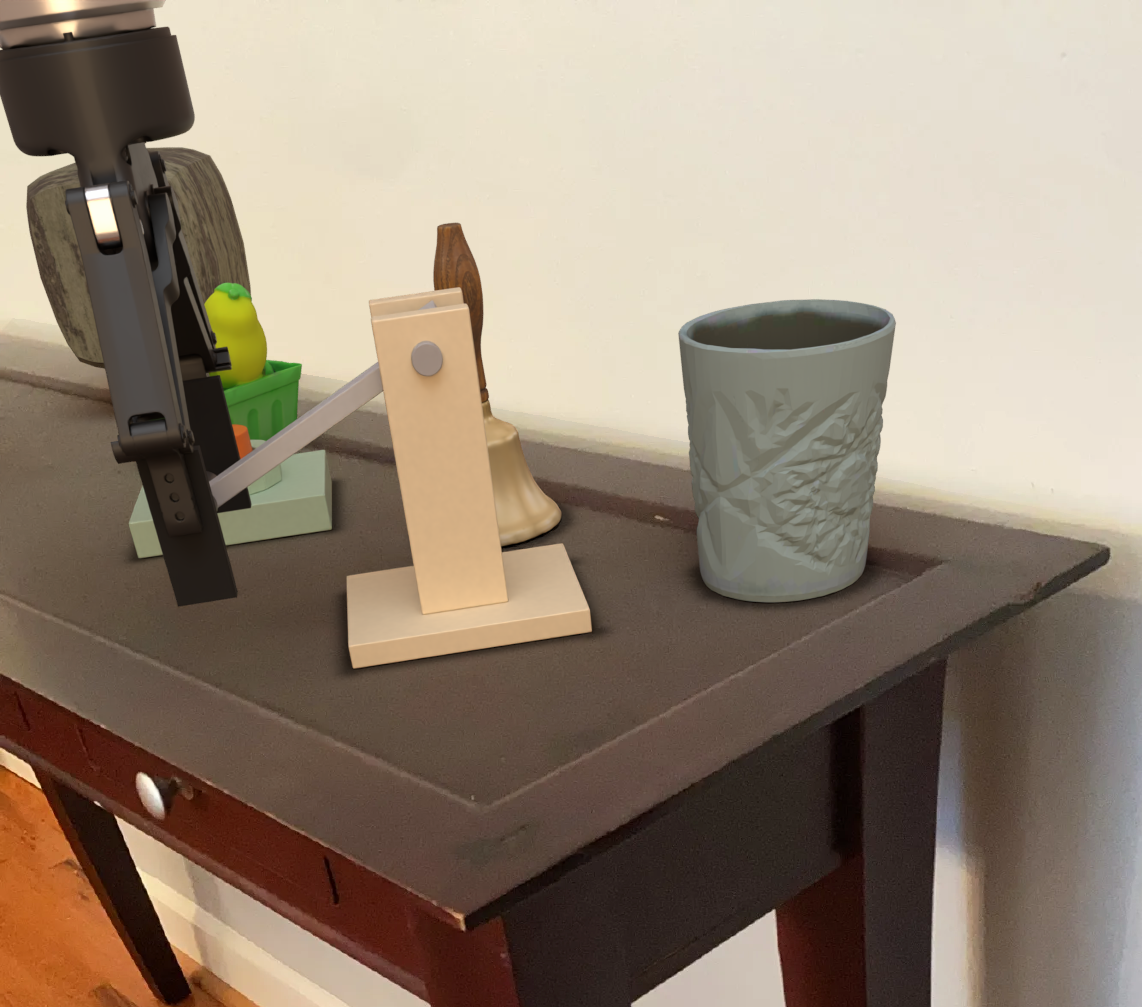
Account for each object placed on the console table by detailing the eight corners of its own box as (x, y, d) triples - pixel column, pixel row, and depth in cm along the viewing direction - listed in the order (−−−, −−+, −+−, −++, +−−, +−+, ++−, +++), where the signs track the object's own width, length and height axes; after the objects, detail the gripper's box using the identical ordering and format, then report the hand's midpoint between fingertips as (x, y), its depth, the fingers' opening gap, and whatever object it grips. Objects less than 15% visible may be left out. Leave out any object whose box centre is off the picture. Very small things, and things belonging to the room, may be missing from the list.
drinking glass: (687, 546, 77) (675, 309, 70) (872, 529, 76) (879, 288, 69) (694, 616, 69) (681, 358, 62) (899, 599, 68) (911, 334, 61)
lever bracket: (352, 669, 68) (284, 345, 59) (350, 596, 76) (289, 301, 67) (592, 632, 69) (560, 305, 60) (565, 564, 77) (533, 266, 68)
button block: (138, 559, 85) (118, 493, 83) (154, 509, 93) (137, 447, 91) (332, 530, 86) (318, 463, 83) (332, 482, 94) (319, 420, 91)
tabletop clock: (274, 382, 118) (195, 25, 103) (244, 412, 111) (155, 34, 96) (115, 397, 121) (14, 49, 105) (75, 427, 113) (-39, 58, 98)
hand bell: (401, 548, 82) (346, 243, 72) (460, 501, 88) (417, 213, 78) (529, 552, 79) (490, 236, 69) (582, 503, 85) (553, 205, 75)
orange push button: (194, 474, 86) (187, 444, 85) (199, 457, 89) (191, 429, 88) (252, 465, 86) (245, 436, 85) (255, 449, 89) (248, 421, 88)
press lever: (203, 549, 66) (169, 506, 65) (211, 513, 71) (179, 472, 69) (467, 364, 63) (437, 315, 62) (458, 339, 67) (430, 293, 66)
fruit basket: (249, 426, 108) (211, 264, 101) (333, 434, 103) (299, 266, 96) (139, 472, 101) (90, 301, 94) (224, 483, 96) (179, 304, 89)
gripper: (137, 24, 46) (286, 632, 59) (195, 12, 66) (297, 469, 79) (-89, 55, 46) (110, 660, 59) (38, 34, 66) (166, 490, 79)
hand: (218, 552), depth 69 cm, fingers open, 13 cm apart
